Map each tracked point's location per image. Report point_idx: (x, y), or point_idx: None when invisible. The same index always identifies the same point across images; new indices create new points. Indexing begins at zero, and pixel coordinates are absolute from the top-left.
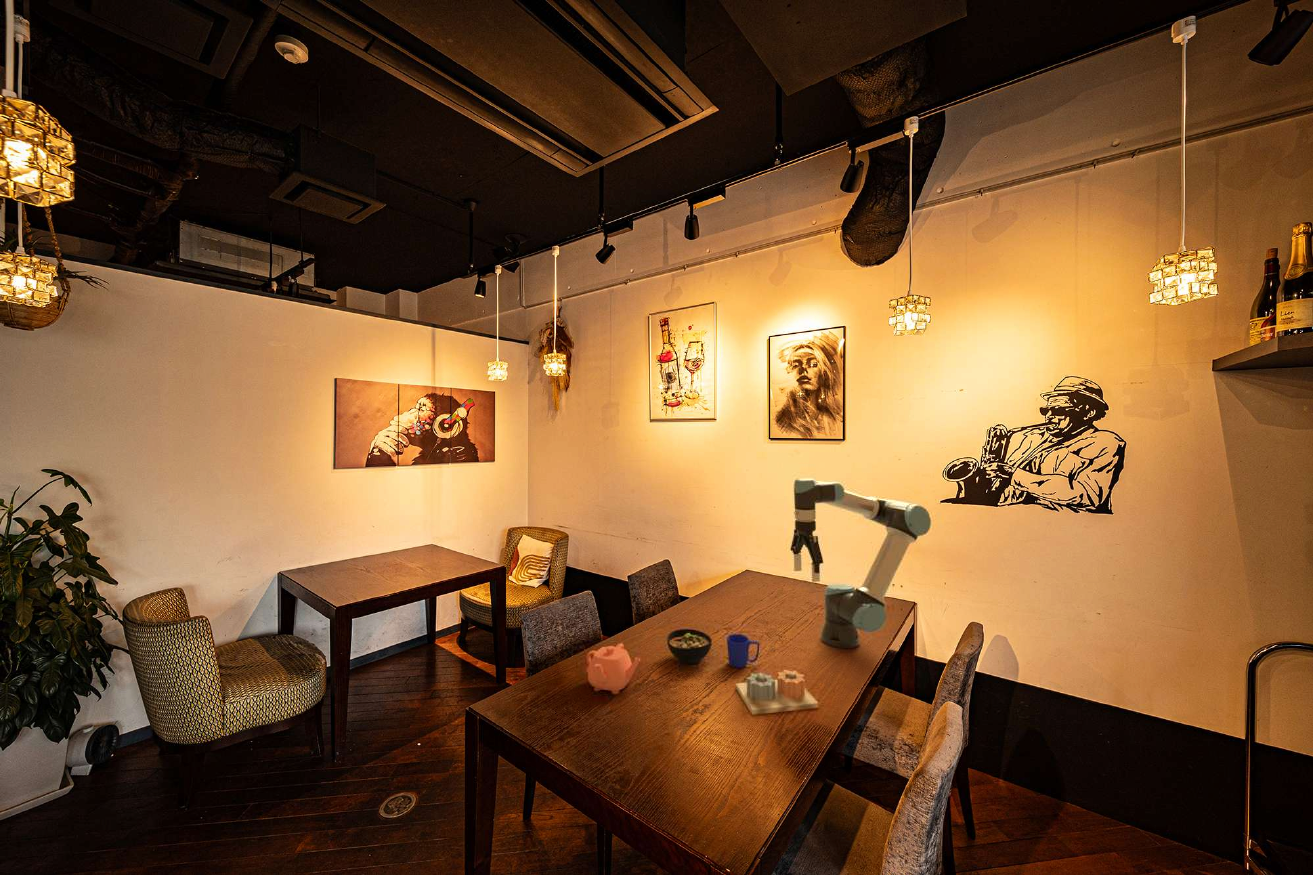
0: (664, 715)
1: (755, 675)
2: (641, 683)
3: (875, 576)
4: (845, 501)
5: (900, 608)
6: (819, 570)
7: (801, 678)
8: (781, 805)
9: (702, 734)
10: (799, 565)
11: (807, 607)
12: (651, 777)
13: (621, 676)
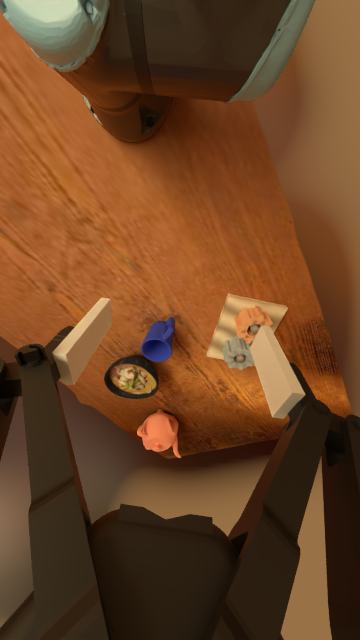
0: (216, 405)
1: (229, 359)
2: (166, 403)
3: None
4: None
5: None
6: (301, 374)
7: (266, 322)
8: (343, 393)
9: (251, 397)
10: (100, 320)
11: None
12: (268, 427)
13: (176, 430)
